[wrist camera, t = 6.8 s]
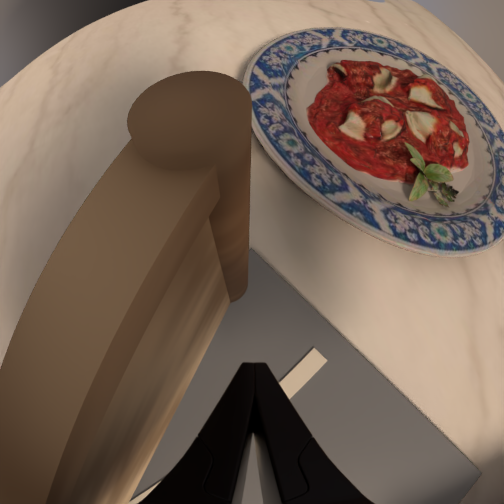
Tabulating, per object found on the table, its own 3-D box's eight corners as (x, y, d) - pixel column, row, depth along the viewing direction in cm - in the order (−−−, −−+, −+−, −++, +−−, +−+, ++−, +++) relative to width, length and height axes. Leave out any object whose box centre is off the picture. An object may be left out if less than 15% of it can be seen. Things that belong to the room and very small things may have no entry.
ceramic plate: (271, 26, 27) (272, 5, 24) (472, 88, 26) (482, 73, 23) (199, 222, 18) (192, 196, 15) (524, 293, 17) (548, 282, 14)
